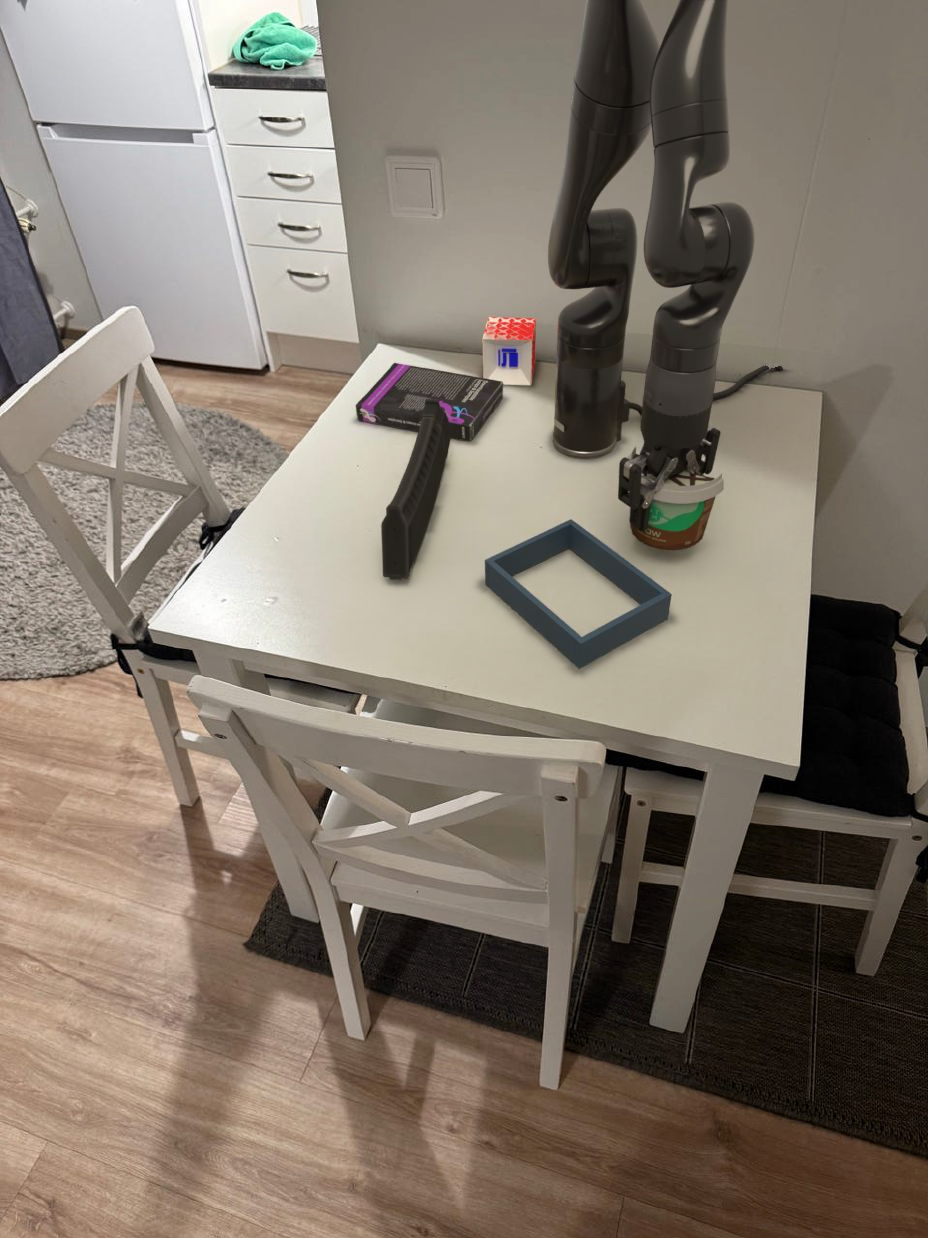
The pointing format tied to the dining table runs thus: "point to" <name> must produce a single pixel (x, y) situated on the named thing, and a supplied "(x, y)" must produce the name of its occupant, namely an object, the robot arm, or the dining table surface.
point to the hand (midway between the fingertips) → (661, 516)
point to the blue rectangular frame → (598, 557)
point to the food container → (678, 510)
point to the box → (410, 386)
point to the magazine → (415, 494)
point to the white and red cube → (509, 350)
